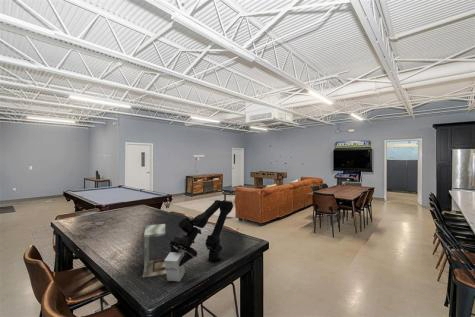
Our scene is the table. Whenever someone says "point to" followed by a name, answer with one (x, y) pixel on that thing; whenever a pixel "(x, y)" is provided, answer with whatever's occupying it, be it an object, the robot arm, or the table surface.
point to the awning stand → (150, 266)
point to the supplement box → (174, 266)
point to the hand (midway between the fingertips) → (174, 263)
